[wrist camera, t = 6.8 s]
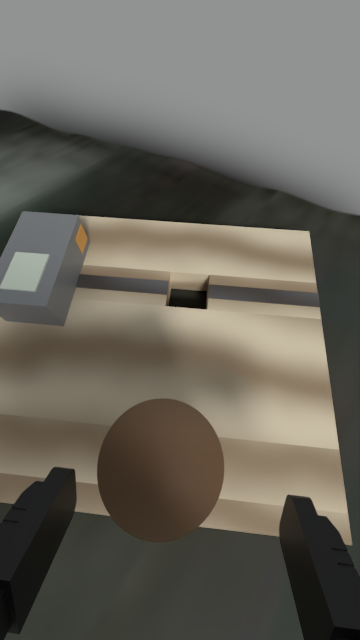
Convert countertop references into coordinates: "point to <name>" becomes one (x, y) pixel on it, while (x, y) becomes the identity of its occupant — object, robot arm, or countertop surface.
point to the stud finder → (41, 268)
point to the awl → (160, 470)
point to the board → (182, 366)
